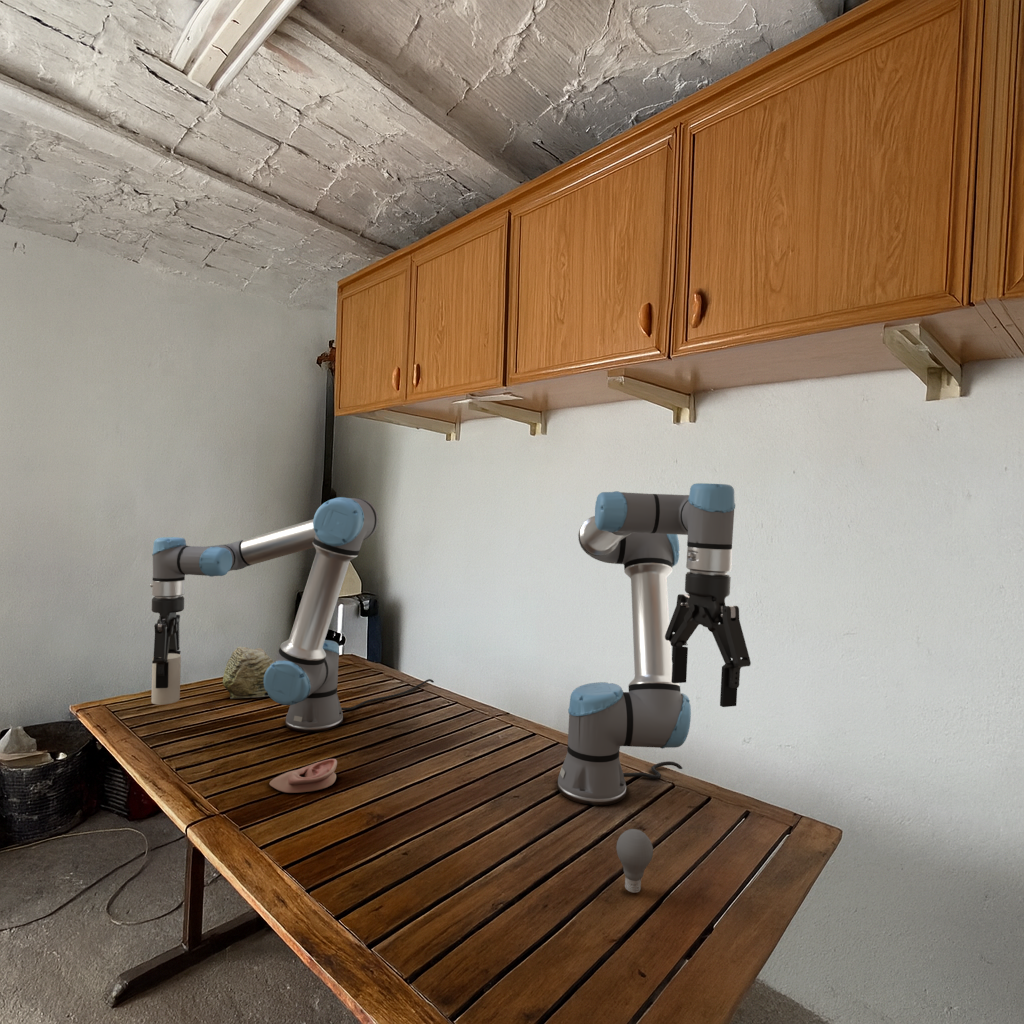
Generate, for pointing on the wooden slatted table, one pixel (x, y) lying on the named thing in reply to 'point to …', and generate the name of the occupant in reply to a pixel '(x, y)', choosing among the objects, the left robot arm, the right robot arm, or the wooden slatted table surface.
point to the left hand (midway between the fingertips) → (166, 683)
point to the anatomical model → (307, 778)
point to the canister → (173, 690)
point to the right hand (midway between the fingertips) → (702, 693)
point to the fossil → (246, 673)
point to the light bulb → (634, 857)
